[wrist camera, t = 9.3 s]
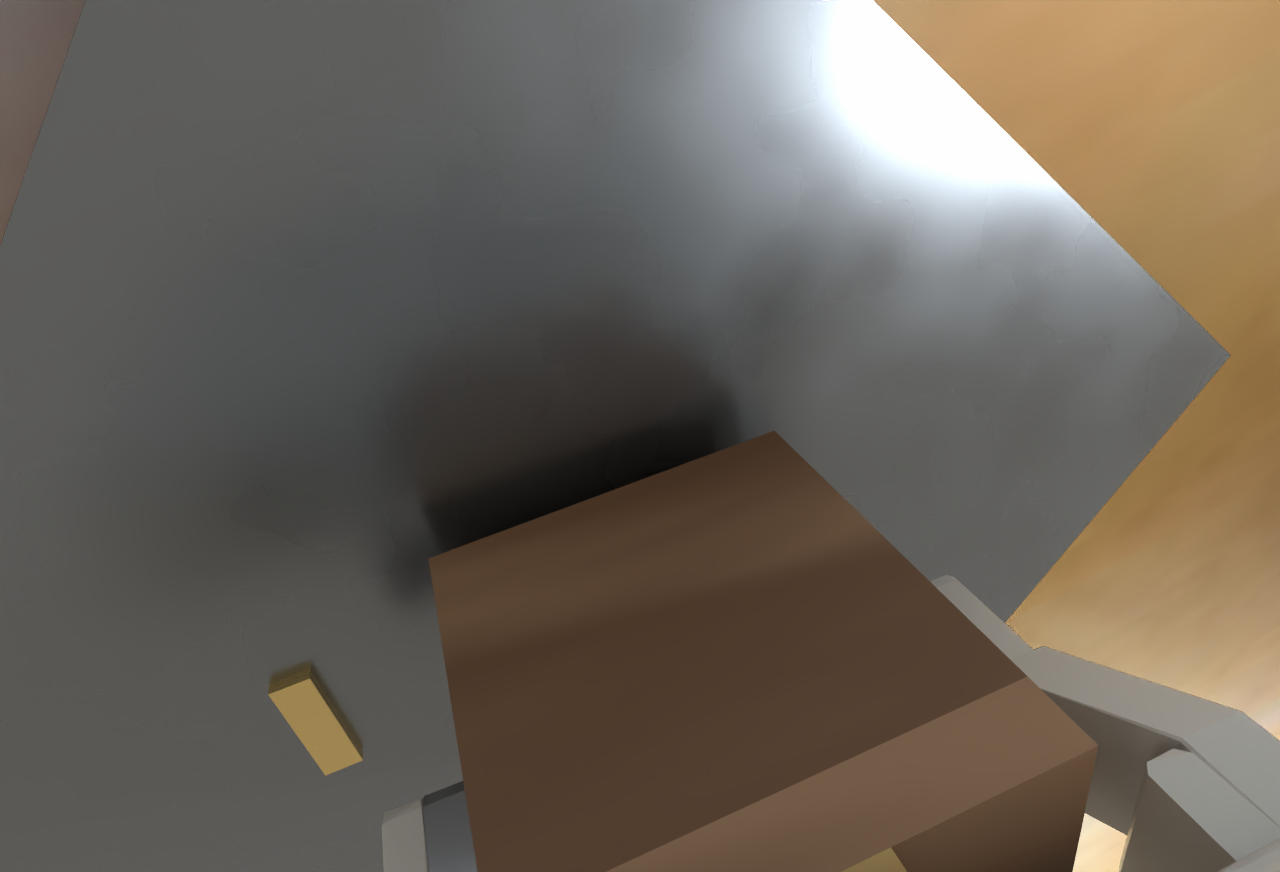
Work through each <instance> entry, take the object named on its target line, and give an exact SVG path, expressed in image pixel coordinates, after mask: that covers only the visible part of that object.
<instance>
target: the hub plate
mask: <svg viewBox="0 0 1280 872" xmlns="http://www.w3.org/2000/svg"><path fill="white" fill-rule="evenodd" d="M1230 356H1231V355H1230V354H1229V353H1228V352H1227V351H1226V350H1225V349H1224V348H1223V347H1222V346H1221V345H1220V344H1219V343H1218V342H1217V341H1216V340H1215V339H1214V338H1213V337H1212V336H1211V335H1210V334H1209V333H1208V332H1207V331H1206V330H1205V329H1204V328H1203V327H1202V326H1201V325H1200V324H1199V323H1198V322H1197V321H1196V320H1195V319H1194V318H1193V317H1192V316H1191V315H1190V314H1189V313H1188V312H1187V311H1186V310H1185V309H1184V308H1183V307H1182V306H1181V305H1180V304H1179V303H1177V302H1176V301H1175V300H1174V299H1173V298H1172V297H1171V296H1170V295H1169V294H1168V293H1167V292H1166V291H1165V290H1164V289H1163V288H1162V287H1161V286H1160V285H1159V284H1158V283H1157V282H1156V281H1155V280H1154V279H1153V278H1152V277H1151V276H1150V275H1149V274H1148V273H1147V272H1146V271H1145V270H1144V269H1143V268H1142V267H1141V266H1140V265H1139V264H1138V263H1137V262H1136V261H1135V260H1134V259H1133V258H1132V257H1131V256H1130V255H1129V254H1128V253H1127V252H1126V251H1125V250H1124V249H1123V248H1122V247H1121V246H1120V245H1119V244H1118V243H1117V242H1116V241H1115V240H1114V239H1113V238H1112V237H1111V236H1110V235H1109V234H1108V233H1107V232H1106V231H1105V230H1104V229H1103V228H1102V227H1101V226H1100V225H1099V224H1098V223H1097V222H1096V221H1095V220H1094V219H1093V218H1092V217H1091V216H1090V215H1089V214H1088V213H1087V212H1086V211H1085V210H1084V209H1083V208H1082V207H1081V206H1080V205H1079V204H1078V203H1077V202H1076V201H1075V200H1074V199H1073V198H1072V197H1071V196H1070V195H1069V194H1068V193H1067V192H1066V191H1065V190H1064V189H1063V188H1062V187H1061V186H1060V185H1059V184H1058V183H1057V182H1056V181H1055V180H1054V179H1052V178H1051V177H1050V176H1049V175H1048V174H1047V173H1046V172H1045V171H1044V170H1043V169H1042V168H1041V167H1040V166H1039V165H1038V164H1037V163H1036V162H1035V161H1034V160H1033V159H1032V158H1031V157H1030V156H1029V155H1028V154H1027V153H1026V152H1025V151H1024V150H1023V149H1022V148H1021V147H1020V146H1019V145H1018V144H1017V143H1016V142H1015V141H1014V140H1013V139H1012V138H1011V137H1010V136H1009V135H1008V134H1007V133H1006V132H1005V131H1004V130H1003V129H1002V128H1001V127H1000V126H999V125H998V124H997V123H996V122H995V121H994V120H993V119H992V118H991V117H990V116H989V115H988V114H987V113H986V112H985V111H984V110H983V109H982V108H981V107H980V106H979V105H978V104H977V103H976V102H975V101H974V100H973V99H972V98H971V97H970V96H969V95H968V94H967V93H966V92H965V91H964V90H963V89H962V88H961V87H960V86H959V85H958V84H957V83H956V82H955V81H954V80H953V79H952V78H951V77H950V76H949V75H948V74H947V73H946V72H945V71H944V70H943V69H942V68H941V67H940V66H939V65H938V64H937V63H936V62H935V61H934V60H933V59H932V58H931V57H930V56H929V55H927V54H926V53H925V52H924V51H923V50H922V49H921V48H920V47H919V46H918V45H917V44H916V43H915V42H914V41H913V40H912V39H911V38H910V37H909V36H908V35H907V34H906V33H905V32H904V31H903V30H902V29H901V28H900V27H899V26H898V25H897V24H896V23H895V22H894V21H893V20H892V19H891V18H890V17H889V16H888V15H887V14H886V13H885V12H884V11H883V10H882V9H881V8H880V7H879V6H878V5H877V4H876V3H875V2H874V1H873V0H86V1H85V4H84V7H83V9H82V12H81V15H80V18H79V21H78V24H77V27H76V30H75V32H74V35H73V38H72V41H71V44H70V47H69V50H68V53H67V55H66V58H65V61H64V64H63V67H62V70H61V73H60V76H59V78H58V81H57V84H56V87H55V90H54V93H53V96H52V99H51V101H50V104H49V107H48V110H47V113H46V116H45V119H44V122H43V124H42V127H41V130H40V133H39V136H38V139H37V142H36V145H35V147H34V150H33V153H32V156H31V159H30V162H29V165H28V167H27V170H26V173H25V176H24V179H23V182H22V185H21V188H20V190H19V193H18V196H17V199H16V202H15V205H14V208H13V211H12V213H11V216H10V219H9V222H8V225H7V228H6V231H5V234H4V236H3V239H2V242H1V245H0V872H384V867H383V844H382V823H383V819H384V814H385V812H387V811H389V810H392V809H394V808H396V807H399V806H401V805H404V804H406V803H408V802H411V801H413V800H416V799H418V798H420V797H423V796H425V795H428V794H430V793H433V792H436V791H438V790H441V789H443V788H446V787H448V786H451V785H453V784H456V783H458V782H461V781H463V776H462V770H461V763H460V757H459V750H458V744H457V738H456V731H455V725H454V719H453V712H452V706H451V699H450V693H449V687H448V680H447V674H446V668H445V661H444V655H443V648H442V642H441V636H440V629H439V623H438V617H437V610H436V604H435V597H434V591H433V585H432V578H431V572H430V566H429V559H428V558H431V557H434V556H437V555H439V554H442V553H445V552H447V551H450V550H453V549H455V548H458V547H461V546H464V545H466V544H469V543H472V542H474V541H477V540H480V539H482V538H485V537H488V536H491V535H493V534H496V533H499V532H501V531H504V530H507V529H510V528H512V527H515V526H518V525H520V524H523V523H526V522H528V521H531V520H534V519H537V518H539V517H542V516H545V515H547V514H550V513H553V512H556V511H558V510H561V509H564V508H566V507H569V506H572V505H574V504H577V503H580V502H583V501H585V500H588V499H591V498H593V497H596V496H599V495H601V494H604V493H607V492H610V491H612V490H615V489H618V488H620V487H623V486H626V485H629V484H631V483H634V482H637V481H639V480H642V479H645V478H647V477H650V476H653V475H656V474H658V473H661V472H664V471H666V470H669V469H672V468H674V467H677V466H680V465H683V464H685V463H688V462H691V461H693V460H696V459H699V458H702V457H704V456H707V455H710V454H712V453H715V452H718V451H720V450H723V449H726V448H729V447H731V446H734V445H737V444H739V443H742V442H745V441H748V440H750V439H753V438H756V437H758V436H761V435H764V434H766V433H769V432H772V431H775V432H776V433H778V434H779V435H780V436H781V437H782V438H783V439H784V440H785V441H786V442H787V443H788V444H789V445H790V446H791V447H792V448H793V449H794V450H795V451H796V452H797V453H798V454H799V455H800V456H801V457H802V458H803V459H804V460H805V461H806V462H807V463H808V464H809V465H810V466H812V467H813V468H814V469H815V470H816V471H817V472H818V473H819V474H820V475H821V476H822V477H823V478H824V479H825V480H826V481H827V482H828V483H829V484H830V485H831V486H832V487H833V488H834V489H835V490H836V491H837V492H838V493H839V494H840V495H841V496H842V497H843V498H844V499H846V500H847V501H848V502H849V503H850V504H851V505H852V506H853V507H854V508H855V509H856V510H857V511H858V512H859V513H860V514H861V515H862V516H863V517H864V518H865V519H866V520H867V521H868V522H869V523H870V524H871V525H872V526H873V527H874V528H875V529H876V530H877V531H878V532H879V533H881V534H882V535H883V536H884V537H885V538H886V539H887V540H888V541H889V542H890V543H891V544H892V545H893V546H894V547H895V548H896V549H897V550H898V551H899V552H900V553H901V554H902V555H903V556H904V557H905V558H906V559H907V560H908V561H909V562H910V563H911V564H912V565H913V566H915V567H916V568H917V569H918V570H919V571H920V572H921V573H922V574H923V575H924V576H925V577H926V578H927V579H928V580H929V581H932V580H935V579H937V578H939V577H942V576H944V575H949V576H952V577H954V578H956V579H957V580H958V581H959V582H960V583H961V584H962V585H964V586H965V587H966V588H967V589H968V590H969V591H970V592H971V593H972V594H973V595H975V596H976V597H977V598H978V599H979V600H980V601H981V602H982V603H983V604H984V605H986V606H987V607H988V608H989V609H990V610H991V611H992V612H993V613H994V614H995V615H996V616H998V617H999V618H1000V619H1001V620H1002V621H1003V622H1004V623H1005V622H1006V621H1007V620H1008V618H1009V617H1010V616H1011V615H1012V614H1013V612H1014V611H1015V610H1016V609H1017V608H1018V607H1019V605H1020V604H1021V603H1022V602H1023V601H1024V599H1025V598H1026V597H1027V596H1028V595H1029V594H1030V592H1031V591H1032V590H1033V589H1034V588H1035V586H1036V585H1037V584H1038V583H1039V582H1040V581H1041V579H1042V578H1043V577H1044V576H1045V575H1046V573H1047V572H1048V571H1049V570H1050V569H1051V568H1052V566H1053V565H1054V564H1055V563H1056V562H1057V560H1058V559H1059V558H1060V557H1061V556H1062V555H1063V553H1064V552H1065V551H1066V550H1067V549H1068V547H1069V546H1070V545H1071V544H1072V543H1073V541H1074V540H1075V539H1076V538H1077V537H1078V536H1079V534H1080V533H1081V532H1082V531H1083V530H1084V528H1085V527H1086V526H1087V525H1088V524H1089V523H1090V521H1091V520H1092V519H1093V518H1094V517H1095V515H1096V514H1097V513H1098V512H1099V511H1100V510H1101V508H1102V507H1103V506H1104V505H1105V504H1106V502H1107V501H1108V500H1109V499H1110V498H1111V497H1112V495H1113V494H1114V493H1115V492H1116V491H1117V489H1118V488H1119V487H1120V486H1121V485H1122V484H1123V482H1124V481H1125V480H1126V479H1127V478H1128V476H1129V475H1130V474H1131V473H1132V472H1133V470H1134V469H1135V468H1136V467H1137V466H1138V465H1139V463H1140V462H1141V461H1142V460H1143V459H1144V457H1145V456H1146V455H1147V454H1148V453H1149V452H1150V450H1151V449H1152V448H1153V447H1154V446H1155V444H1156V443H1157V442H1158V441H1159V440H1160V439H1161V437H1162V436H1163V435H1164V434H1165V433H1166V431H1167V430H1168V429H1169V428H1170V427H1171V426H1172V424H1173V423H1174V422H1175V421H1176V420H1177V418H1178V417H1179V416H1180V415H1181V414H1182V413H1183V411H1184V410H1185V409H1186V408H1187V407H1188V405H1189V404H1190V403H1191V402H1192V401H1193V399H1194V398H1195V397H1196V396H1197V395H1198V394H1199V392H1200V391H1201V390H1202V389H1203V388H1204V386H1205V385H1206V384H1207V383H1208V382H1209V381H1210V379H1211V378H1212V377H1213V376H1214V375H1215V373H1216V372H1217V371H1218V370H1219V369H1220V368H1221V366H1222V365H1223V364H1224V363H1225V362H1226V360H1227V359H1228V358H1229V357H1230Z"/></svg>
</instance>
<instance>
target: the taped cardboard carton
mask: <svg viewBox="0 0 1280 872" xmlns="http://www.w3.org/2000/svg"><path fill="white" fill-rule="evenodd" d="M428 559H429V566H430V572H431V578H432V585H433V591H434V597H435V604H436V610H437V617H438V623H439V629H440V636H441V642H442V648H443V655H444V661H445V668H446V674H447V680H448V687H449V693H450V699H451V706H452V712H453V719H454V725H455V731H456V738H457V744H458V750H459V757H460V763H461V770H462V776H463V782H464V789H465V795H466V801H467V808H468V814H469V821H470V827H471V833H472V840H473V846H474V852H475V859H476V865H477V872H1072V871H1073V866H1074V861H1075V856H1076V851H1077V847H1078V842H1079V837H1080V832H1081V827H1082V822H1083V818H1084V813H1085V808H1086V803H1087V798H1088V794H1089V789H1090V784H1091V779H1092V774H1093V770H1094V765H1095V760H1096V755H1097V750H1098V744H1097V743H1096V742H1095V741H1094V740H1093V739H1092V738H1091V737H1090V736H1089V735H1088V734H1087V733H1085V732H1084V731H1083V730H1082V729H1081V728H1080V727H1079V726H1078V725H1077V724H1076V723H1075V722H1074V721H1073V720H1072V719H1071V718H1070V717H1069V716H1068V715H1067V714H1066V713H1065V712H1064V711H1063V710H1062V709H1061V708H1060V707H1059V706H1058V705H1057V704H1056V703H1055V702H1054V701H1053V700H1051V699H1050V698H1049V697H1048V696H1047V695H1046V694H1045V693H1044V692H1043V691H1042V690H1041V689H1040V688H1039V687H1038V686H1037V685H1036V684H1035V683H1034V682H1033V681H1032V680H1031V679H1030V678H1029V677H1028V676H1027V675H1026V674H1025V673H1024V672H1023V671H1022V670H1021V669H1020V668H1019V667H1017V666H1016V665H1015V664H1014V663H1013V662H1012V661H1011V660H1010V659H1009V658H1008V657H1007V656H1006V655H1005V654H1004V653H1003V652H1002V651H1001V650H1000V649H999V648H998V647H997V646H996V645H995V644H994V643H993V642H992V641H991V640H990V639H989V638H988V637H987V636H986V635H985V634H984V633H982V632H981V631H980V630H979V629H978V628H977V627H976V626H975V625H974V624H973V623H972V622H971V621H970V620H969V619H968V618H967V617H966V616H965V615H964V614H963V613H962V612H961V611H960V610H959V609H958V608H957V607H956V606H955V605H954V604H953V603H952V602H951V601H950V600H948V599H947V598H946V597H945V596H944V595H943V594H942V593H941V592H940V591H939V590H938V589H937V588H936V587H935V586H934V585H933V584H932V583H931V582H930V581H929V580H928V579H927V578H926V577H925V576H924V575H923V574H922V573H921V572H920V571H919V570H918V569H917V568H916V567H915V566H913V565H912V564H911V563H910V562H909V561H908V560H907V559H906V558H905V557H904V556H903V555H902V554H901V553H900V552H899V551H898V550H897V549H896V548H895V547H894V546H893V545H892V544H891V543H890V542H889V541H888V540H887V539H886V538H885V537H884V536H883V535H882V534H881V533H879V532H878V531H877V530H876V529H875V528H874V527H873V526H872V525H871V524H870V523H869V522H868V521H867V520H866V519H865V518H864V517H863V516H862V515H861V514H860V513H859V512H858V511H857V510H856V509H855V508H854V507H853V506H852V505H851V504H850V503H849V502H848V501H847V500H846V499H844V498H843V497H842V496H841V495H840V494H839V493H838V492H837V491H836V490H835V489H834V488H833V487H832V486H831V485H830V484H829V483H828V482H827V481H826V480H825V479H824V478H823V477H822V476H821V475H820V474H819V473H818V472H817V471H816V470H815V469H814V468H813V467H812V466H810V465H809V464H808V463H807V462H806V461H805V460H804V459H803V458H802V457H801V456H800V455H799V454H798V453H797V452H796V451H795V450H794V449H793V448H792V447H791V446H790V445H789V444H788V443H787V442H786V441H785V440H784V439H783V438H782V437H781V436H780V435H779V434H778V433H776V432H775V431H772V432H769V433H766V434H764V435H761V436H758V437H756V438H753V439H750V440H748V441H745V442H742V443H739V444H737V445H734V446H731V447H729V448H726V449H723V450H720V451H718V452H715V453H712V454H710V455H707V456H704V457H702V458H699V459H696V460H693V461H691V462H688V463H685V464H683V465H680V466H677V467H674V468H672V469H669V470H666V471H664V472H661V473H658V474H656V475H653V476H650V477H647V478H645V479H642V480H639V481H637V482H634V483H631V484H629V485H626V486H623V487H620V488H618V489H615V490H612V491H610V492H607V493H604V494H601V495H599V496H596V497H593V498H591V499H588V500H585V501H583V502H580V503H577V504H574V505H572V506H569V507H566V508H564V509H561V510H558V511H556V512H553V513H550V514H547V515H545V516H542V517H539V518H537V519H534V520H531V521H528V522H526V523H523V524H520V525H518V526H515V527H512V528H510V529H507V530H504V531H501V532H499V533H496V534H493V535H491V536H488V537H485V538H482V539H480V540H477V541H474V542H472V543H469V544H466V545H464V546H461V547H458V548H455V549H453V550H450V551H447V552H445V553H442V554H439V555H437V556H434V557H431V558H428Z"/></svg>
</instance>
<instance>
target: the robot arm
mask: <svg viewBox="0 0 1280 872" xmlns="http://www.w3.org/2000/svg"><path fill="white" fill-rule="evenodd" d="M930 582H931V583H932V584H933V585H934V586H935V587H936V588H937V589H938V590H939V591H940V592H941V593H942V594H943V595H944V596H945V597H946V598H947V599H948V600H950V601H951V602H952V603H953V604H954V605H955V606H956V607H957V608H958V609H959V610H960V611H961V612H962V613H963V614H964V615H965V616H966V617H967V618H968V619H969V620H970V621H971V622H972V623H973V624H974V625H975V626H976V627H977V628H978V629H979V630H980V631H981V632H982V633H984V634H985V635H986V636H987V637H988V638H989V639H990V640H991V641H992V642H993V643H994V644H995V645H996V646H997V647H998V648H999V649H1000V650H1001V651H1002V652H1003V653H1004V654H1005V655H1006V656H1007V657H1008V658H1009V659H1010V660H1011V661H1012V662H1013V663H1014V664H1015V665H1016V666H1017V667H1019V668H1020V669H1021V670H1022V671H1023V672H1024V673H1025V674H1026V675H1027V676H1028V677H1029V678H1030V679H1031V680H1032V681H1033V682H1034V683H1035V684H1036V685H1037V686H1038V687H1039V688H1040V689H1041V690H1042V691H1043V692H1044V693H1045V694H1046V695H1047V696H1048V697H1049V698H1050V699H1051V700H1053V701H1054V702H1055V703H1056V704H1057V705H1058V706H1059V707H1060V708H1061V709H1062V710H1063V711H1064V712H1065V713H1066V714H1067V715H1068V716H1069V717H1070V718H1071V719H1072V720H1073V721H1074V722H1075V723H1076V724H1077V725H1078V726H1079V727H1080V728H1081V729H1082V730H1083V731H1084V732H1085V733H1087V734H1088V735H1089V736H1090V737H1091V738H1092V739H1093V740H1094V741H1095V742H1096V743H1097V744H1098V750H1097V755H1096V760H1095V765H1094V770H1093V774H1092V779H1091V784H1090V789H1089V794H1088V798H1087V803H1086V808H1085V813H1086V814H1088V815H1090V816H1092V817H1094V818H1096V819H1097V820H1099V821H1101V822H1103V823H1105V824H1107V825H1109V826H1111V827H1113V828H1114V829H1116V830H1118V831H1120V832H1122V833H1124V834H1126V835H1127V839H1126V843H1125V846H1124V850H1123V854H1122V858H1121V861H1120V865H1119V872H1280V741H1279V740H1278V739H1277V738H1275V737H1274V736H1273V735H1272V734H1270V733H1269V732H1268V731H1266V730H1265V729H1264V728H1263V727H1261V726H1260V725H1259V724H1257V723H1256V722H1255V721H1254V720H1252V719H1251V718H1250V717H1249V716H1247V715H1246V714H1245V713H1243V712H1242V711H1239V710H1236V709H1233V708H1230V707H1227V706H1224V705H1221V704H1218V703H1215V702H1212V701H1209V700H1206V699H1203V698H1199V697H1196V696H1193V695H1190V694H1187V693H1184V692H1181V691H1178V690H1175V689H1172V688H1169V687H1166V686H1163V685H1160V684H1157V683H1154V682H1151V681H1148V680H1145V679H1142V678H1139V677H1136V676H1133V675H1130V674H1127V673H1124V672H1121V671H1118V670H1115V669H1111V668H1108V667H1105V666H1102V665H1099V664H1096V663H1093V662H1090V661H1087V660H1084V659H1081V658H1078V657H1075V656H1072V655H1069V654H1066V653H1063V652H1060V651H1057V650H1054V649H1051V648H1048V647H1045V646H1042V647H1039V648H1037V649H1033V648H1032V647H1030V646H1029V645H1028V644H1027V643H1026V642H1025V641H1024V640H1023V639H1022V638H1021V637H1019V636H1018V635H1017V634H1016V633H1015V632H1014V631H1013V630H1012V629H1011V628H1010V627H1009V626H1007V625H1006V624H1005V623H1004V622H1003V621H1002V620H1001V619H1000V618H999V617H998V616H996V615H995V614H994V613H993V612H992V611H991V610H990V609H989V608H988V607H987V606H986V605H984V604H983V603H982V602H981V601H980V600H979V599H978V598H977V597H976V596H975V595H973V594H972V593H971V592H970V591H969V590H968V589H967V588H966V587H965V586H964V585H962V584H961V583H960V582H959V581H958V580H957V579H956V578H954V577H952V576H949V575H944V576H942V577H939V578H937V579H935V580H932V581H930ZM382 844H383V867H384V872H477V865H476V859H475V852H474V846H473V840H472V833H471V827H470V821H469V814H468V808H467V801H466V795H465V789H464V782H463V781H461V782H458V783H456V784H453V785H451V786H448V787H446V788H443V789H441V790H438V791H436V792H433V793H430V794H428V795H425V796H423V797H420V798H418V799H416V800H413V801H411V802H408V803H406V804H404V805H401V806H399V807H396V808H394V809H392V810H389V811H387V812H385V814H384V819H383V823H382Z"/></svg>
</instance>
